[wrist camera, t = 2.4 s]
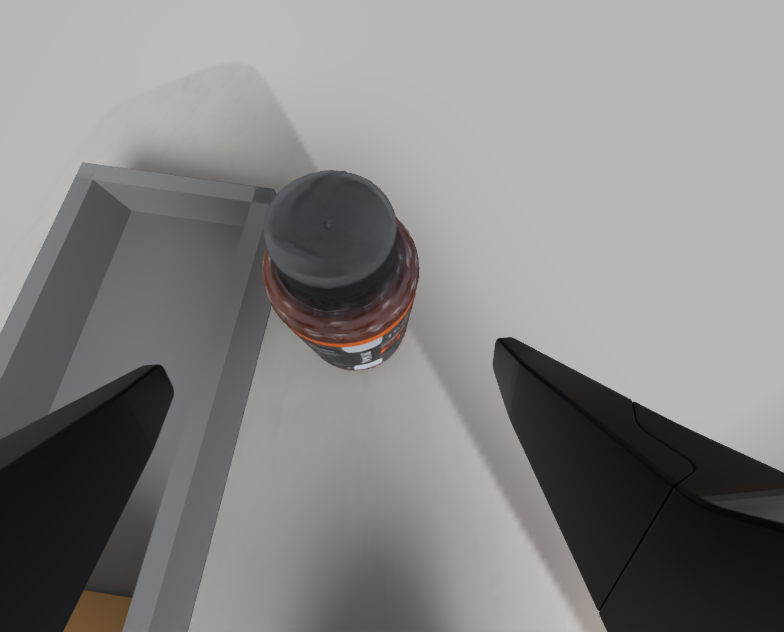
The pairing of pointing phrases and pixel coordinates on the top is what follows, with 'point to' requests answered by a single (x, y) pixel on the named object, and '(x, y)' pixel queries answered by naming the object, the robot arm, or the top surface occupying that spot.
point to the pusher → (99, 613)
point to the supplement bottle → (340, 268)
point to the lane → (148, 355)
